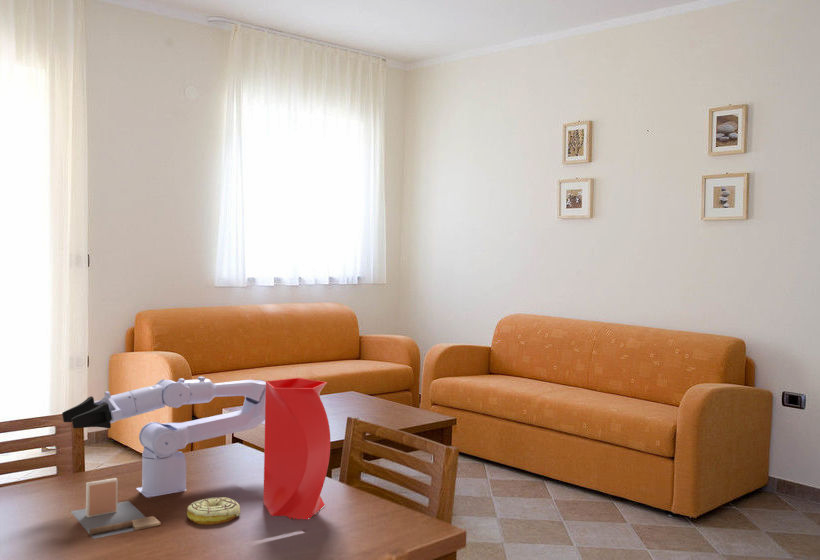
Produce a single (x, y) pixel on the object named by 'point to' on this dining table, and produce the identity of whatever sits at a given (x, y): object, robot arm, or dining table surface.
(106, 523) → the mat
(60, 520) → the dining table surface
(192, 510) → the decorated donut
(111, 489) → the tile
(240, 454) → the dining table surface
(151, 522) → the turner
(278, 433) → the vase
